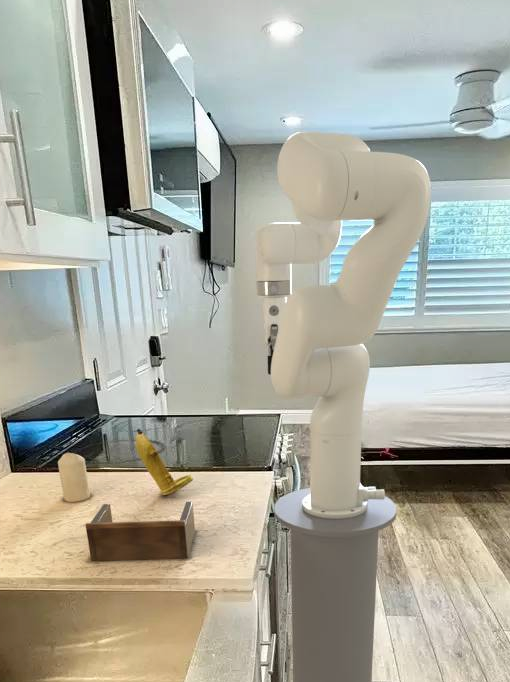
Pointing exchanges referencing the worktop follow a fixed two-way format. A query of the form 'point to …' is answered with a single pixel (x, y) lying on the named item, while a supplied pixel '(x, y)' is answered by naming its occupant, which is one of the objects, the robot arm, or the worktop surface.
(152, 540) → the wooden u-shaped stand
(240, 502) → the worktop surface
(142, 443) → the ripe yellow banana
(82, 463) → the candle
